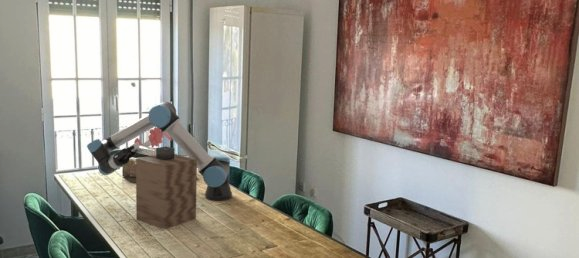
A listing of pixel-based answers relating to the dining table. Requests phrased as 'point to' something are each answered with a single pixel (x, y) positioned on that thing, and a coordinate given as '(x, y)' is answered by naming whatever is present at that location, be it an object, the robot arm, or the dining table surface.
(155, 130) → the pink flower sprig
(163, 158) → the light grey rectangular bar
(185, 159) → the pedestal
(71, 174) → the dining table surface
